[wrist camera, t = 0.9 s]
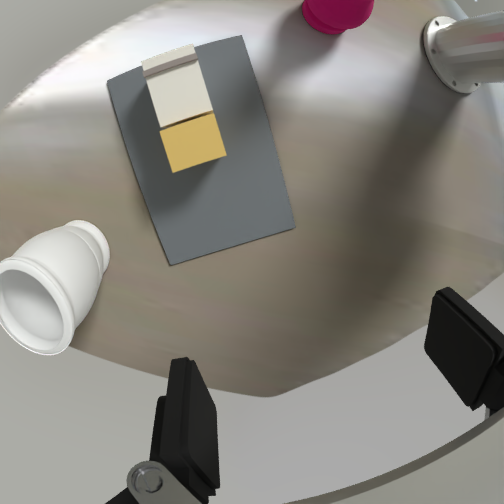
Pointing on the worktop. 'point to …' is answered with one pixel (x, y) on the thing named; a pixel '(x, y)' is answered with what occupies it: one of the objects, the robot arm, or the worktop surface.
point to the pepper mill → (336, 14)
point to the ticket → (177, 86)
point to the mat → (211, 172)
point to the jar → (52, 285)
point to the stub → (193, 142)
